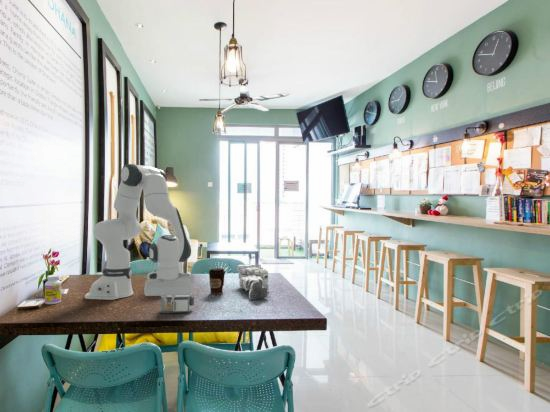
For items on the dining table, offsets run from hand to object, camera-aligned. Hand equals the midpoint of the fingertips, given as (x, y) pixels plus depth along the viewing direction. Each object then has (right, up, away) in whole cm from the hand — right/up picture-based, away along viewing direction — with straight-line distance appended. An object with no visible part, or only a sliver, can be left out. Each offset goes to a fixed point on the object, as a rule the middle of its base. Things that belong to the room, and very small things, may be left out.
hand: (169, 305), depth 155 cm
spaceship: (+35, -4, +39) cm, 52 cm away
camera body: (+2, -4, +6) cm, 7 cm away
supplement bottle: (-60, -3, +16) cm, 62 cm away
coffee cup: (+15, -4, +35) cm, 38 cm away
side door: (+5, -3, +1) cm, 5 cm away
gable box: (-13, -3, +52) cm, 54 cm away
